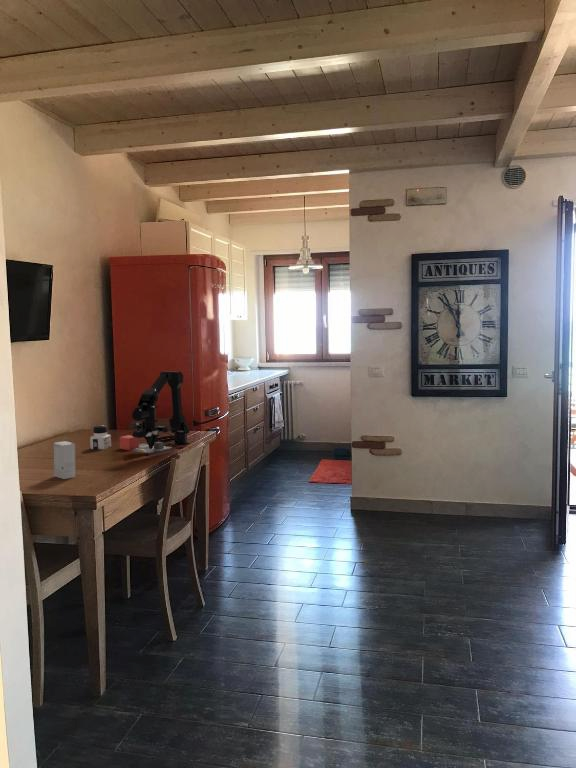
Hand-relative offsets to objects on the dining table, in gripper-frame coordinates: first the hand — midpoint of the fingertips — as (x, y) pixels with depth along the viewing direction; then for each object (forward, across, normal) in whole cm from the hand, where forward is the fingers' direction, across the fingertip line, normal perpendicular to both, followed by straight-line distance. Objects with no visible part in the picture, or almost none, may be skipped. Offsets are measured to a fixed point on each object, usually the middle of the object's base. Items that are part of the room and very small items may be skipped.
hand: (150, 448), depth 312 cm
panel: (+3, -4, -7) cm, 9 cm away
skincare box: (+3, +52, +4) cm, 53 cm away
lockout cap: (+1, +1, -15) cm, 15 cm away
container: (+3, +7, -29) cm, 30 cm away
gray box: (+1, -5, 0) cm, 5 cm away
